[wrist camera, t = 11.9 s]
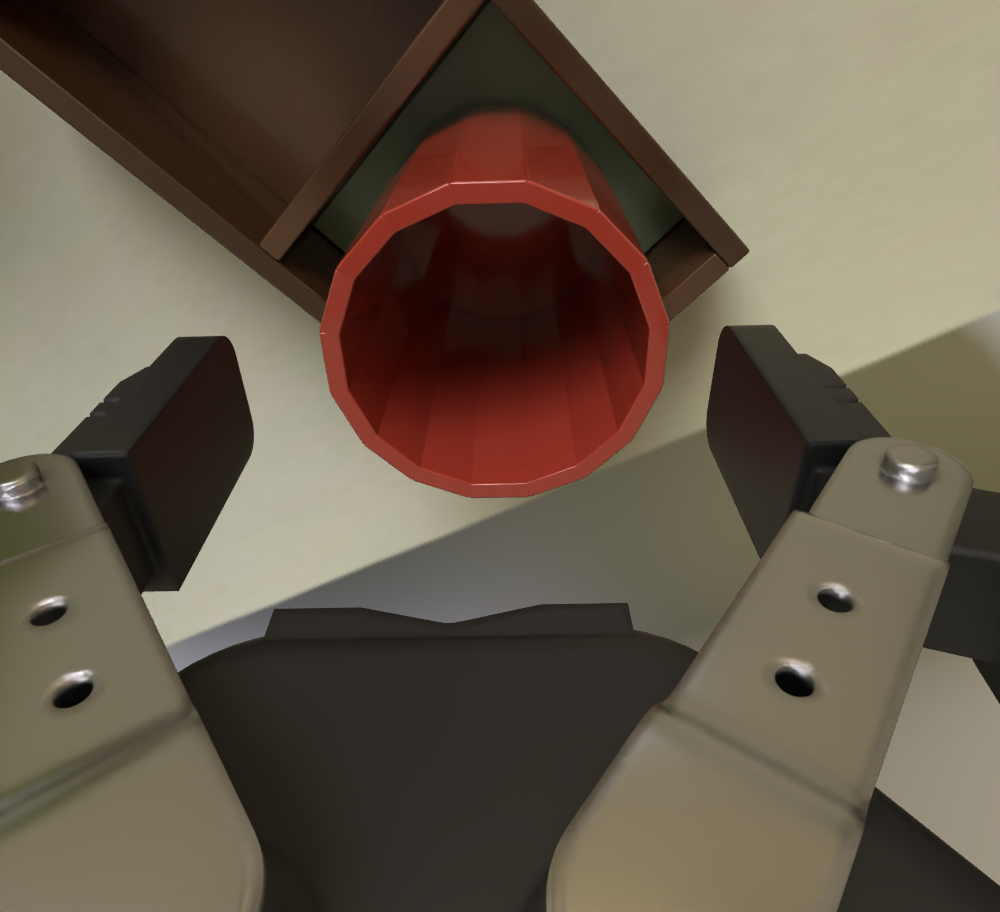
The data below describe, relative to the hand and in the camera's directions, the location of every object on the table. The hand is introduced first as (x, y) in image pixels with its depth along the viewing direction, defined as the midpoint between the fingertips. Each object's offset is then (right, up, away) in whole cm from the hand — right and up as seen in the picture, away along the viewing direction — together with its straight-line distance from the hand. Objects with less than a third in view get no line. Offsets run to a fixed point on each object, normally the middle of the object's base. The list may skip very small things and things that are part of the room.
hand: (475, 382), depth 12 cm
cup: (0, +5, +8) cm, 10 cm away
